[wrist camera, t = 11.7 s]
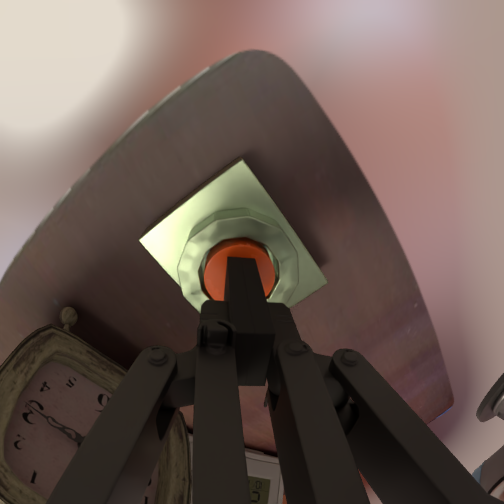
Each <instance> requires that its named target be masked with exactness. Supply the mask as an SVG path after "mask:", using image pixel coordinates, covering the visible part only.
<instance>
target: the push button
mask: <svg viewBox="0 0 504 504" xmlns="http://www.w3.org/2000/svg"><path fill="white" fill-rule="evenodd" d="M227 256H228V257H242V258H255V260H256V263H257V267H258V271H259V274H260V278H261V281H262V285H263V289H264V292H265V296H266V297H267V295H268V294H269V293H270V291H271V289H272V287H273V285H274V281H275V270H274V266H273V264H272V261H271V258H270V256H269V253H268V251H267V250H266V248H265V247H264V246H263V244H261V243H259V242H257V241H254V240H252V239H249V238H247V237H242V238H234V239H226V240H223V241H221V242H220V243H219V244H217V245H216V246H214V247H213V248H212V249H210V250H209V252H208V254H207V257H206V261H205V269H204V283H205V287H206V289H207V291H208V293H209V294H210V296H211V297H212V298H213V299H214V300H219V301H224V289H225V277H226V266H227Z"/></svg>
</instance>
